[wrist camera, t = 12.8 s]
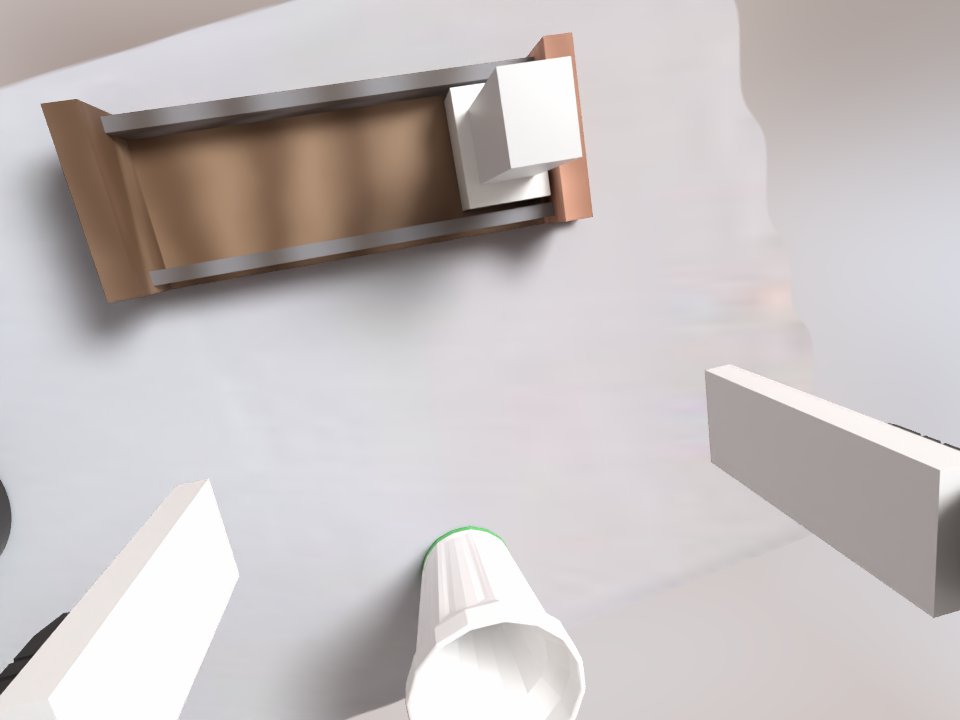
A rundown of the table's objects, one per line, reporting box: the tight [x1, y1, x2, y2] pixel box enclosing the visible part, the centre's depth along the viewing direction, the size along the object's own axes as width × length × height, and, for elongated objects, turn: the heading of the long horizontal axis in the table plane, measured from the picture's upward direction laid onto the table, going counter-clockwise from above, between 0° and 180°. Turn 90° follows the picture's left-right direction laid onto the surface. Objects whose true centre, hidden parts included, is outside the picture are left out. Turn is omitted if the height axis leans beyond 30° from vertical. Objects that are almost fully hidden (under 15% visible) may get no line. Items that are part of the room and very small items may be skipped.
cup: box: [406, 527, 586, 720], centre depth 45 cm, size 12×12×15 cm
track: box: [41, 33, 593, 303], centre depth 39 cm, size 36×12×7 cm, turn 100°
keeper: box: [444, 56, 582, 211], centre depth 36 cm, size 6×8×14 cm
